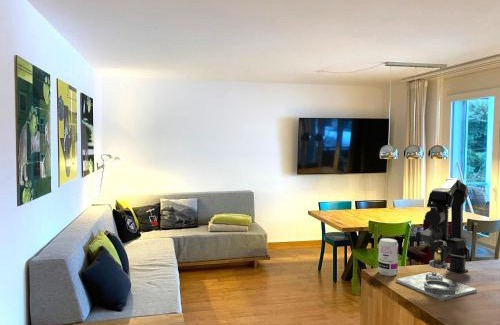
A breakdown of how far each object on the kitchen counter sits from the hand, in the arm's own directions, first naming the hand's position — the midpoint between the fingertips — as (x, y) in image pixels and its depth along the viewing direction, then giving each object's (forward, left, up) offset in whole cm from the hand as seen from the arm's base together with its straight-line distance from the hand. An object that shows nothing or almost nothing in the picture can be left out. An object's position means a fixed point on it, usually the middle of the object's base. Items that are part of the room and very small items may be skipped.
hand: (438, 260), depth 157 cm
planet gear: (0, 0, -2) cm, 2 cm away
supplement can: (+3, -23, -12) cm, 27 cm away
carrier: (-2, -3, -12) cm, 12 cm away
